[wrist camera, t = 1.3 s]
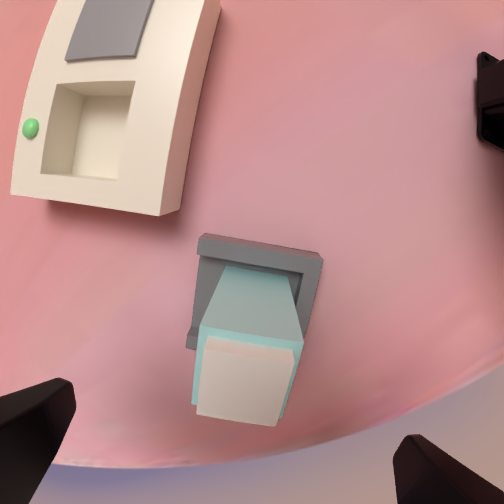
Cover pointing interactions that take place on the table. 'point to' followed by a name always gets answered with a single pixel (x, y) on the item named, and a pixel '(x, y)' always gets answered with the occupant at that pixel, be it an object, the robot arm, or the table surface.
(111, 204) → the port block
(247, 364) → the plug
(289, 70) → the table surface
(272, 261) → the holster
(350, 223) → the table surface
